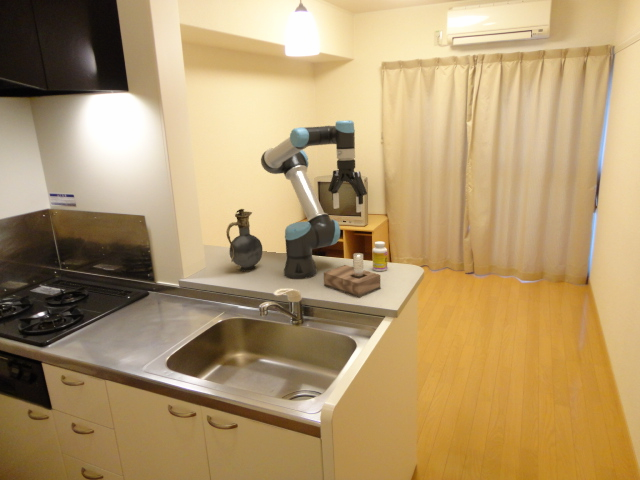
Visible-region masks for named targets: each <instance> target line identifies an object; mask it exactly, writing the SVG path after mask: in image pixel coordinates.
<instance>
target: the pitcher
mask: <svg viewBox="0 0 640 480" xmlns="http://www.w3.org/2000/svg"><path fill="white" fill-rule="evenodd" d="M252 213H253V211H245V209H244V208H239V209H238V210H236V212H235V214H234V216H235V218H236V220H237V221H236V222H235V221H233V222H230V223H229V224H228V225H227V228H226V238H227V241H228V242H229V244H230V245H229V258H230V261H231V262H233V263H234V264H235V265H236V266H239V267H240V268H239V270H240V272H250V270H251V271H253V269H254V270H255V269H256V268H257V266H256V265H257V264H258V263H259V262H260V261H261V259H262V256H263V245H262V242H261V240H260V239H259V238H258V237H257V236H255V235H253V234H251V231H250V228H251V227H250V226H251V225H250V221H249V219H250V216H251V215H252ZM234 226H235V227H236V226H237V227H238V232H239V233H238V234H239V235H238V236H236V237H234V239H232V240H231V236H230V231H231V228H232V227H234Z"/></svg>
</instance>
